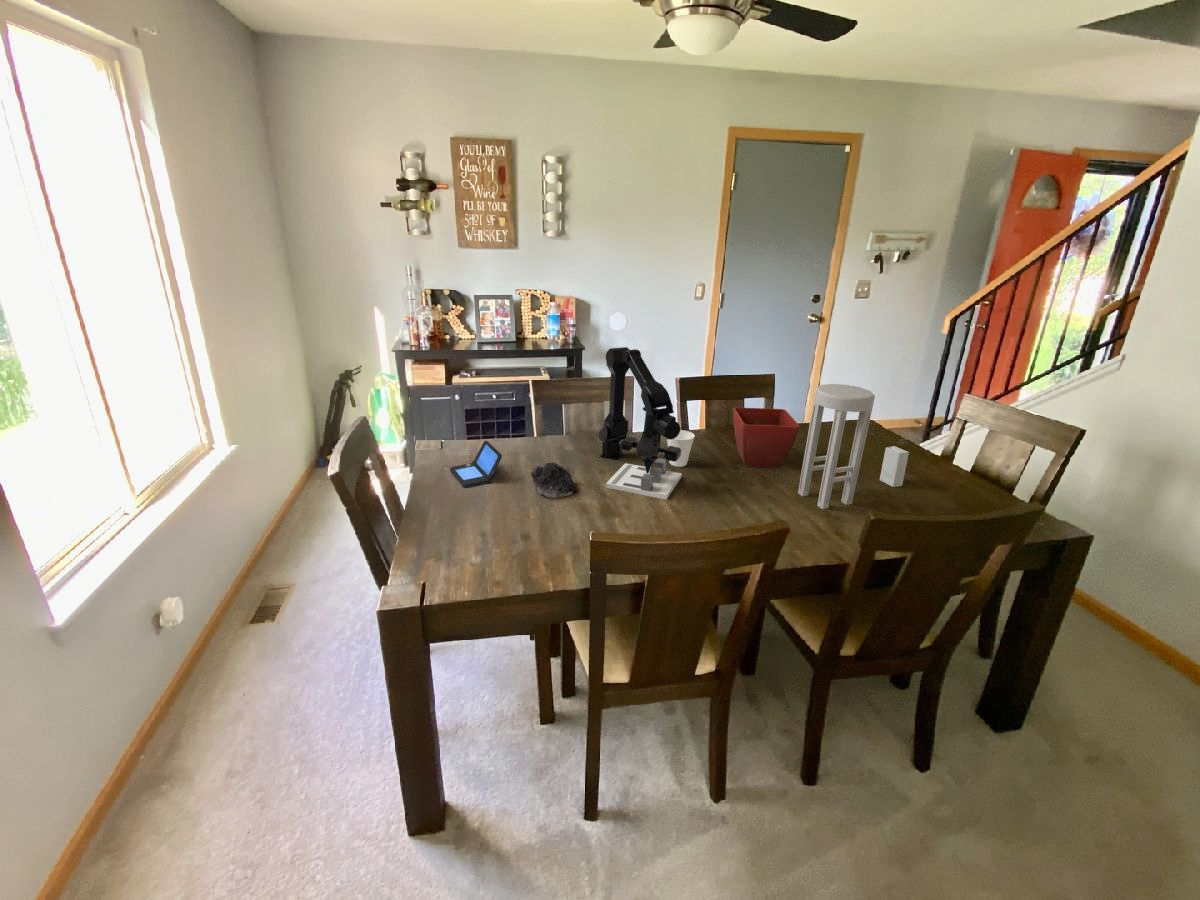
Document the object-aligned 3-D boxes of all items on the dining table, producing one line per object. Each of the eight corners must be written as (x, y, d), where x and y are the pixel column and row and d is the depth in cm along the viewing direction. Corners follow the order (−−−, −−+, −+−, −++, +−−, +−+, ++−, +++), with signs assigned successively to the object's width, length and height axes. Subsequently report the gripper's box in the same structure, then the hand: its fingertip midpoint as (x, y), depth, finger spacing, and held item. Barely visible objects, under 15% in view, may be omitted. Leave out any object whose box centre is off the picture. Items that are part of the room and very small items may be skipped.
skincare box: (902, 486, 188) (911, 452, 184) (892, 487, 187) (900, 453, 182) (888, 478, 193) (895, 445, 189) (877, 480, 192) (885, 446, 188)
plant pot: (793, 472, 197) (801, 426, 190) (738, 470, 197) (744, 424, 191) (778, 451, 214) (785, 408, 208) (727, 449, 215) (732, 407, 208)
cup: (691, 459, 205) (694, 430, 201) (692, 470, 196) (695, 440, 191) (663, 457, 206) (666, 429, 201) (664, 468, 196) (666, 438, 192)
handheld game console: (448, 471, 190) (446, 445, 187) (487, 464, 197) (485, 439, 193) (463, 489, 178) (461, 462, 174) (503, 481, 184) (502, 454, 181)
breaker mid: (648, 481, 182) (649, 469, 181) (652, 477, 186) (653, 465, 184) (658, 482, 181) (658, 471, 180) (661, 478, 185) (662, 467, 183)
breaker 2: (653, 472, 189) (654, 461, 187) (656, 468, 192) (657, 458, 190) (662, 474, 188) (663, 463, 186) (665, 470, 191) (666, 459, 189)
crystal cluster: (580, 485, 184) (579, 456, 181) (569, 500, 171) (568, 469, 168) (541, 483, 187) (539, 454, 184) (527, 498, 174) (525, 467, 171)
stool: (788, 491, 182) (805, 385, 169) (826, 485, 187) (846, 381, 174) (821, 513, 169) (843, 400, 156) (862, 505, 174) (886, 395, 161)
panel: (605, 487, 181) (606, 483, 180) (624, 467, 196) (625, 463, 196) (666, 499, 174) (666, 495, 174) (681, 477, 190) (681, 473, 189)
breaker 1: (640, 489, 177) (641, 477, 175) (644, 485, 180) (644, 473, 178) (649, 491, 176) (650, 479, 174) (653, 486, 179) (654, 475, 177)
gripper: (616, 429, 174) (611, 475, 180) (674, 442, 168) (668, 489, 174) (628, 419, 183) (624, 463, 189) (684, 431, 177) (678, 476, 183)
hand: (647, 472), depth 184 cm, fingers closed
